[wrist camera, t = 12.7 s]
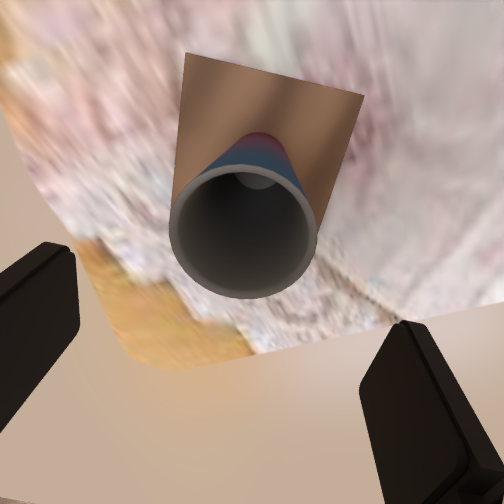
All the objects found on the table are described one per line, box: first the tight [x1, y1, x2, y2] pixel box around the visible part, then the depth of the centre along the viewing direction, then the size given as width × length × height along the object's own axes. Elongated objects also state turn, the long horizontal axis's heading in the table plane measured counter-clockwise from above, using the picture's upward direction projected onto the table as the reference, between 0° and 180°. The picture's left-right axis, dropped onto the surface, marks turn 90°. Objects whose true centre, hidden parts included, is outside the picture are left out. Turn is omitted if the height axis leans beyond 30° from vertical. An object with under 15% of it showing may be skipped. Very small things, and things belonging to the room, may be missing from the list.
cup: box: [169, 132, 317, 299], centre depth 22 cm, size 7×7×15 cm
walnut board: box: [170, 52, 365, 234], centre depth 29 cm, size 14×14×1 cm
